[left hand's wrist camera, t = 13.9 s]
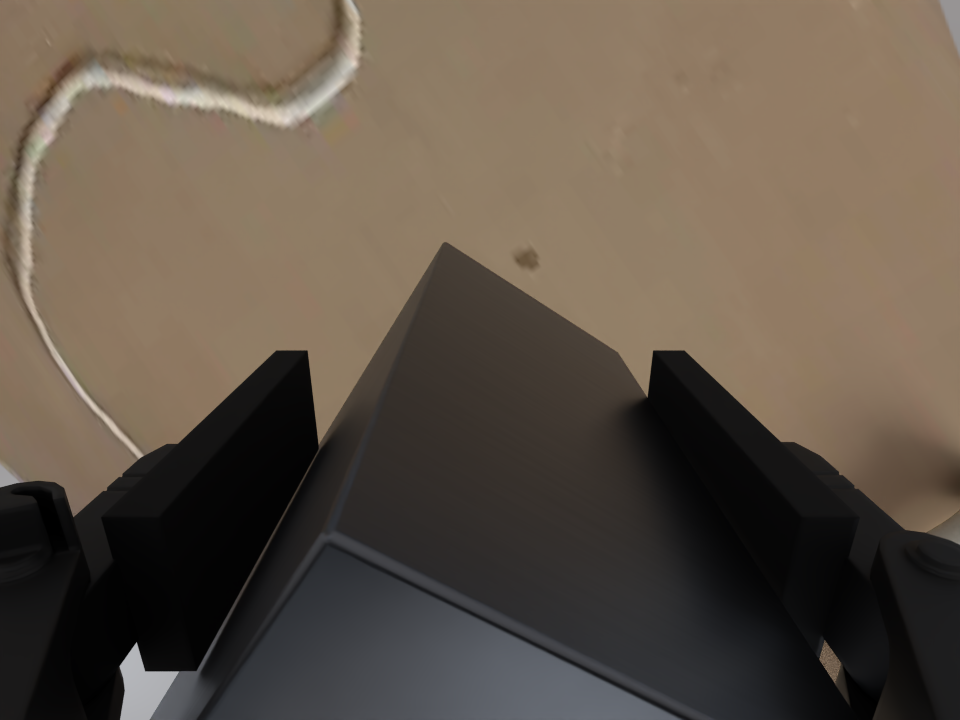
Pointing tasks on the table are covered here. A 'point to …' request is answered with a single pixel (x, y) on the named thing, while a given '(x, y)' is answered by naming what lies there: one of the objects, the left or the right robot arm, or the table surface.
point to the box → (502, 547)
